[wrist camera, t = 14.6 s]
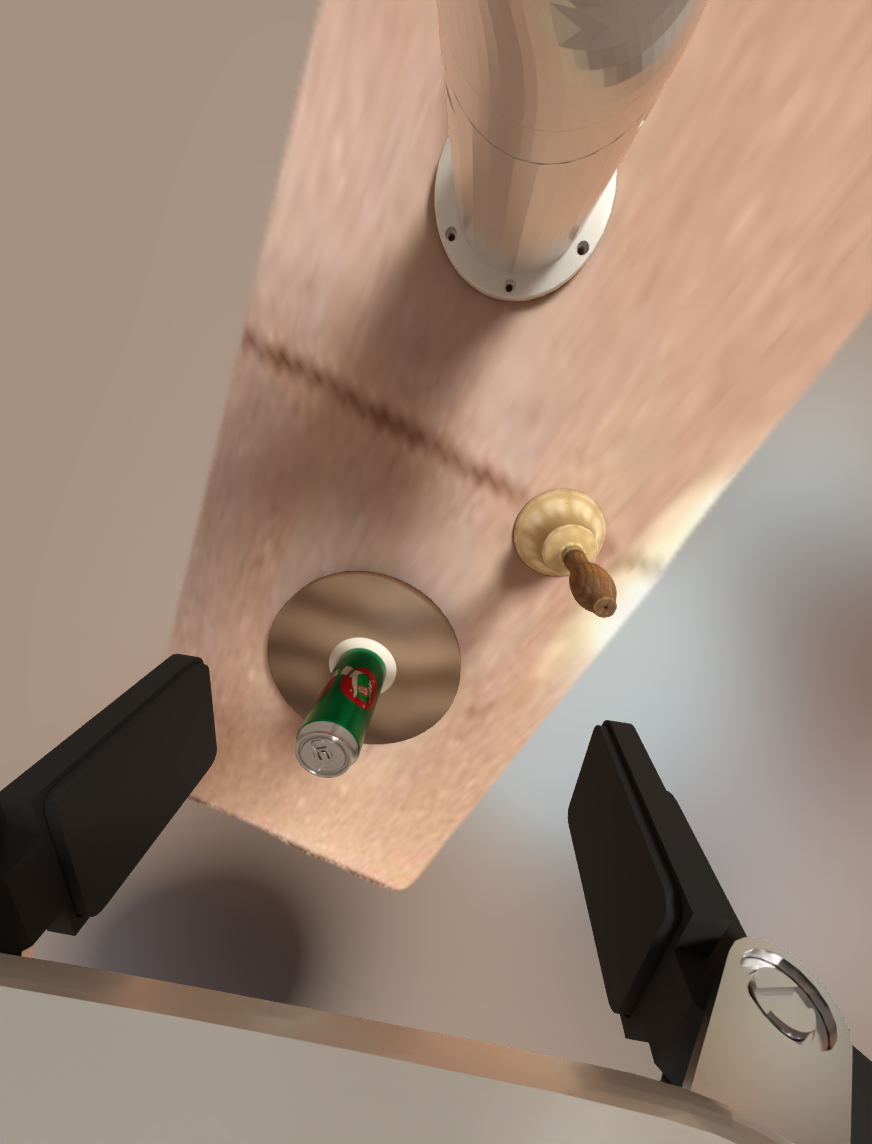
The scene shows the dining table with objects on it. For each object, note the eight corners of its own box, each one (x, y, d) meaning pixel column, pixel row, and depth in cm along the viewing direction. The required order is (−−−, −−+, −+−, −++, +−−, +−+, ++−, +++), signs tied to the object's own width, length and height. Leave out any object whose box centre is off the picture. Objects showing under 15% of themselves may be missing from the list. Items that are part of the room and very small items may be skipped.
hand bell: (527, 585, 41) (556, 684, 26) (502, 505, 38) (519, 564, 23) (613, 560, 39) (698, 651, 24) (594, 475, 36) (675, 518, 22)
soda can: (347, 690, 44) (303, 785, 33) (332, 649, 42) (280, 734, 31) (393, 683, 43) (364, 778, 32) (379, 641, 41) (343, 725, 30)
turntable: (271, 557, 41) (264, 563, 39) (474, 586, 40) (474, 593, 38) (276, 719, 48) (270, 729, 47) (447, 747, 47) (447, 757, 46)
